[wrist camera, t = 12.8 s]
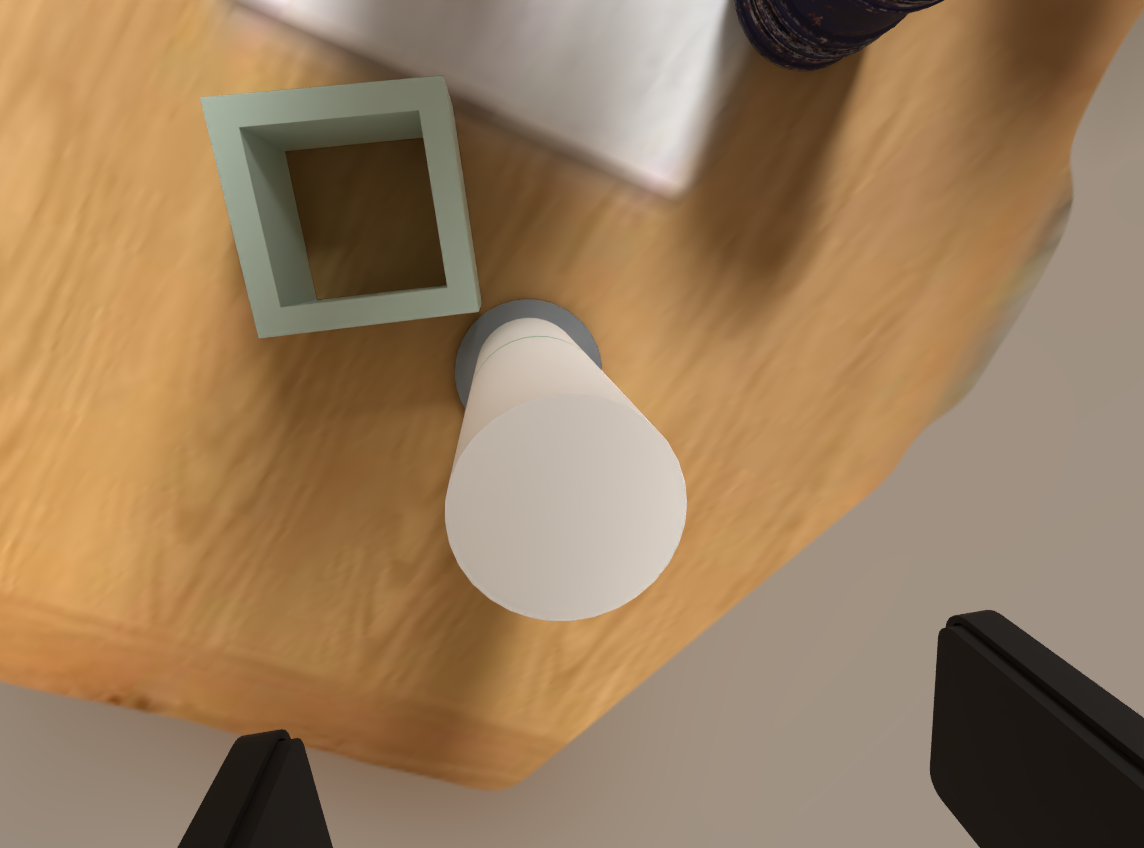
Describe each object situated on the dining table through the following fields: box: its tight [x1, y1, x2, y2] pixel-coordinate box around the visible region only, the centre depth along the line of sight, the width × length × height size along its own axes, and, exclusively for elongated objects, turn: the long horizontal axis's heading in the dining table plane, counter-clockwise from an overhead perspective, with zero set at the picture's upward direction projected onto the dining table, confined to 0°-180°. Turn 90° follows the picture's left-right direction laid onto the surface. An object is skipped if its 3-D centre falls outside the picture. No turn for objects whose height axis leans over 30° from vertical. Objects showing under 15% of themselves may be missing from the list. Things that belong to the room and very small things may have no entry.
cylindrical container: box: [445, 318, 687, 621], centre depth 30 cm, size 7×7×25 cm
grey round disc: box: [455, 299, 602, 410], centre depth 43 cm, size 10×10×1 cm
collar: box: [200, 75, 482, 338], centre depth 36 cm, size 12×12×7 cm
